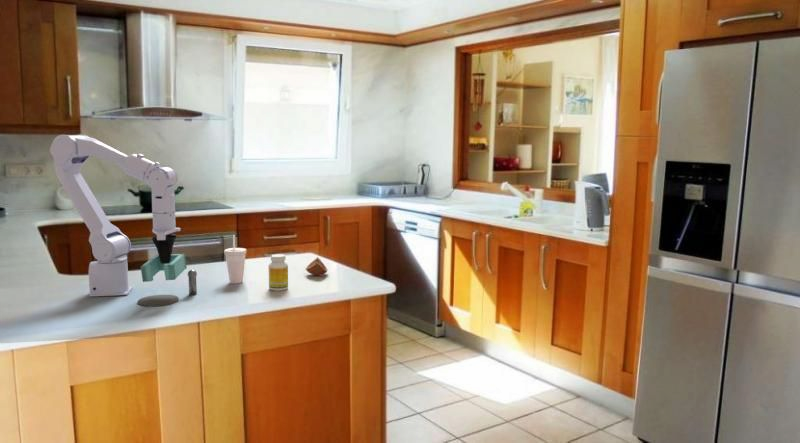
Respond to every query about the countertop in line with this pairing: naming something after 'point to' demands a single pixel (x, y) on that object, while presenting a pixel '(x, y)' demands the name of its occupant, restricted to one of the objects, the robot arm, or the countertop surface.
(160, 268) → the c link
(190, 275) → the cylinder
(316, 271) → the brown wedge block
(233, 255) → the smoothie
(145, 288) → the countertop surface
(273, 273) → the supplement bottle
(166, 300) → the coaster
